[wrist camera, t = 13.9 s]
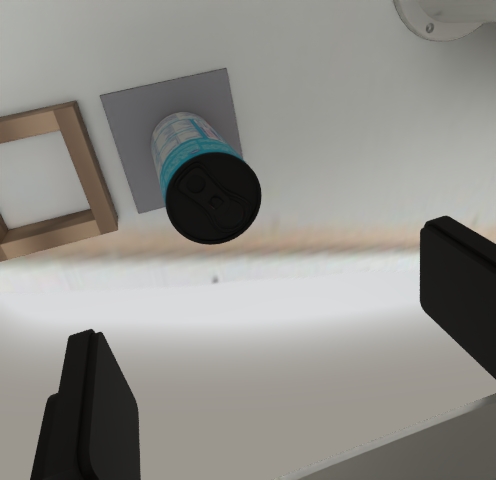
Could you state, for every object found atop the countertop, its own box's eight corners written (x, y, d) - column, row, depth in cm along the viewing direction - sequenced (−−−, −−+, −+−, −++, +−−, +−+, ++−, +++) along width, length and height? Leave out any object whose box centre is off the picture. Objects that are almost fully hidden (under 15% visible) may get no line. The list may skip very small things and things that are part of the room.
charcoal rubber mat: (225, 68, 37) (226, 68, 37) (246, 183, 42) (247, 185, 42) (100, 95, 35) (100, 96, 35) (138, 211, 41) (138, 213, 40)
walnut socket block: (76, 100, 35) (72, 106, 32) (117, 217, 40) (117, 230, 38) (-65, 131, 33) (-80, 139, 31) (-2, 248, 39) (-10, 264, 36)
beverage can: (176, 187, 40) (203, 261, 27) (136, 136, 37) (144, 192, 24) (226, 150, 40) (278, 208, 27) (190, 96, 37) (228, 132, 24)
